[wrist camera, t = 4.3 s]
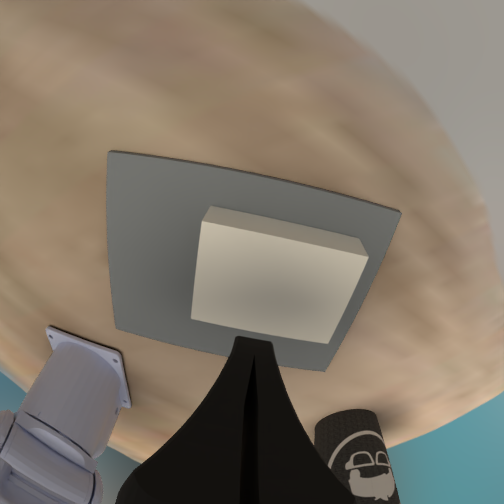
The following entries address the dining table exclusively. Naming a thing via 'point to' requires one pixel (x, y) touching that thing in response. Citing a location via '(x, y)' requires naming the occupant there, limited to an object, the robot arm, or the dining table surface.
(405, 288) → the dining table surface
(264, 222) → the tile
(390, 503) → the coffee cup
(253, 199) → the mat
